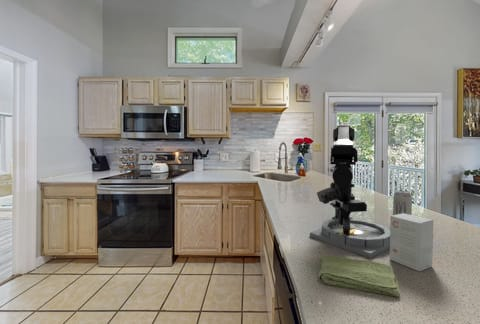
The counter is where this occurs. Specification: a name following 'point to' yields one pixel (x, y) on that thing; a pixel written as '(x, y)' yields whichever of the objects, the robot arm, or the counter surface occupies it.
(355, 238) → the grey round platform
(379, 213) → the counter surface
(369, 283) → the washcloth
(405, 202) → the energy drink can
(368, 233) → the dial
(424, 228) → the small box
